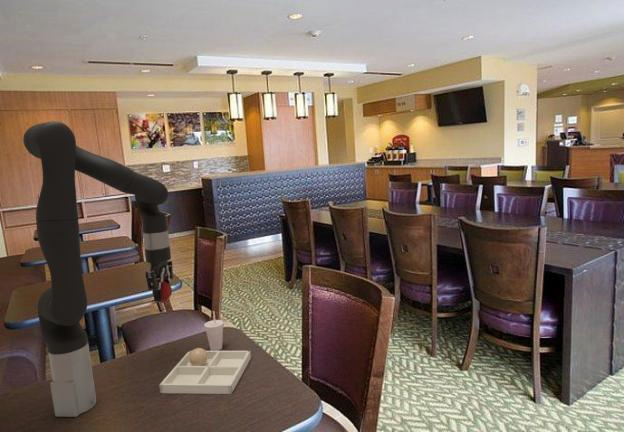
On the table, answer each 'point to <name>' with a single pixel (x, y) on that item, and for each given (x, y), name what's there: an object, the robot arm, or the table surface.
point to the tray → (207, 374)
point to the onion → (165, 291)
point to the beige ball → (198, 357)
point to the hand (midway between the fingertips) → (162, 297)
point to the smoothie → (214, 333)
